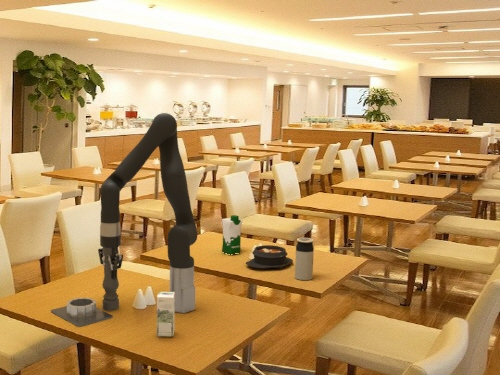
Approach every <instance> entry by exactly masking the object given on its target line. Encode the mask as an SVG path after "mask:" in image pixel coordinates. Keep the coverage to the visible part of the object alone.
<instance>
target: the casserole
mask: <svg viewBox="0 0 500 375" xmlns="http://www.w3.org/2000/svg"><path fill="white" fill-rule="evenodd" d="M251 253H252V255H253V258H252V259H250V260H247V261H246V262H245V265H246V266H249V267H251V268H256V269H268V268H274V269H279V268H283V267H286V266H288V265H289V264H291V263H293V262H294V260H293V259H292V258H290V257H287V256H288V252H287V251H286V248H284V247H283V246H278V245H271V244H270V245H269V244H268V245H267V244H265V245H258V246H256V247H254V250H253V251H252V252H251Z"/></svg>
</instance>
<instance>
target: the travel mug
mask: <svg viewBox="0 0 500 375" xmlns="http://www.w3.org/2000/svg"><path fill="white" fill-rule="evenodd" d="M296 241H297V244H296V245H295V266H294V278H295V279H296V280H298V279H299V281H310V280H312V279H313V273H314V272H313V271H314V255H315V254H314V249H315V248H314V244H313V242H314V241H315V240H314V239H313V238H310V237H299V238H298V237H297V239H296Z"/></svg>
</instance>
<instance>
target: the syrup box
mask: <svg viewBox="0 0 500 375" xmlns="http://www.w3.org/2000/svg"><path fill="white" fill-rule="evenodd" d="M175 313H176V312H175V292H170V291H158V293H157V296H156V337H159V338H160V337H161V338H164V337H165V338H169V337H170V338H172V337H174V333H175Z"/></svg>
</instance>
